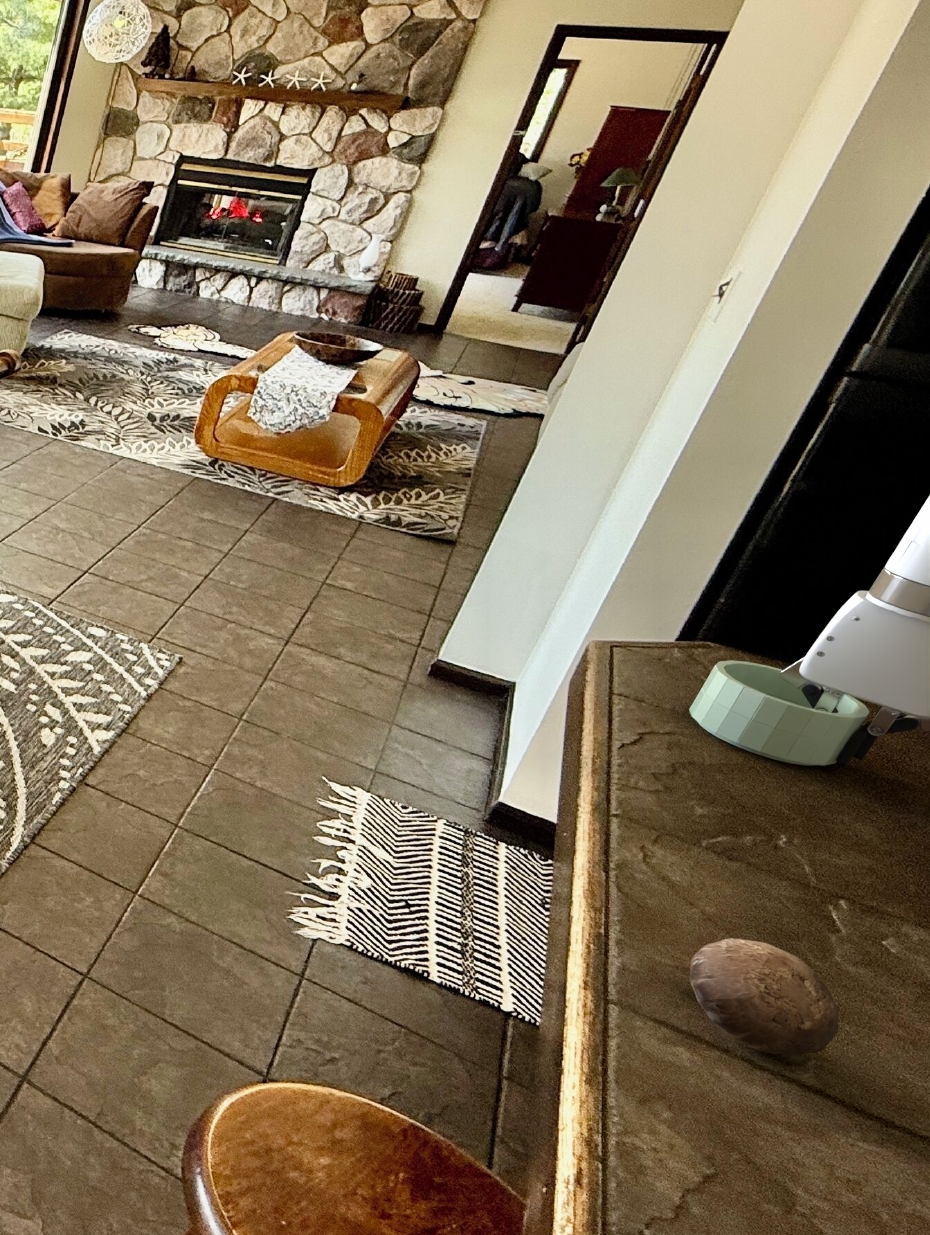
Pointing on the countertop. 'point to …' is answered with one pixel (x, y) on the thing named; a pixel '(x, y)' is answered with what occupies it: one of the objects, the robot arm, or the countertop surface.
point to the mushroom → (764, 997)
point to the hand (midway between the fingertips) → (827, 753)
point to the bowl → (773, 715)
